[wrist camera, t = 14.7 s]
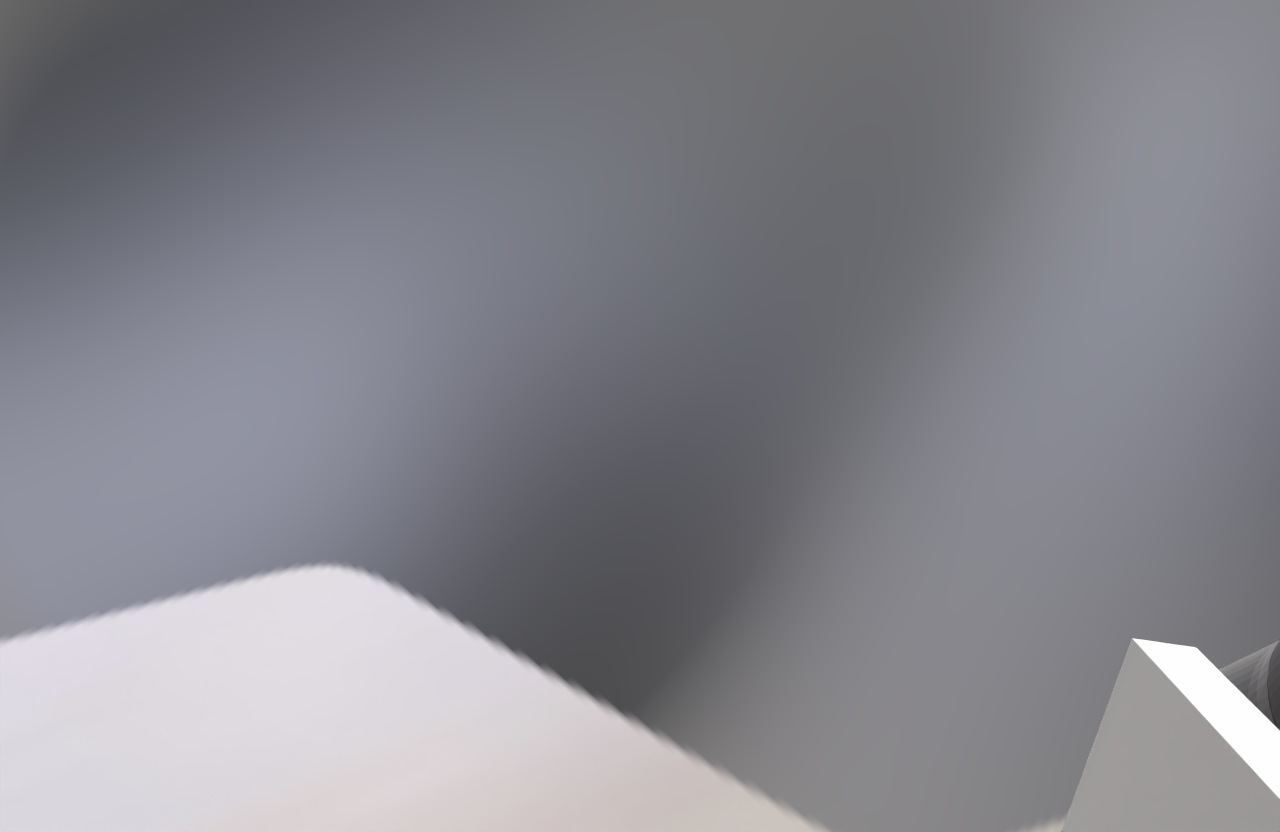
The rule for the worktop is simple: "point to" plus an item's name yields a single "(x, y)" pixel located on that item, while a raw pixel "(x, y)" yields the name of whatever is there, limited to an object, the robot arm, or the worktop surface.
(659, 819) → the worktop surface
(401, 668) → the worktop surface
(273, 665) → the worktop surface
